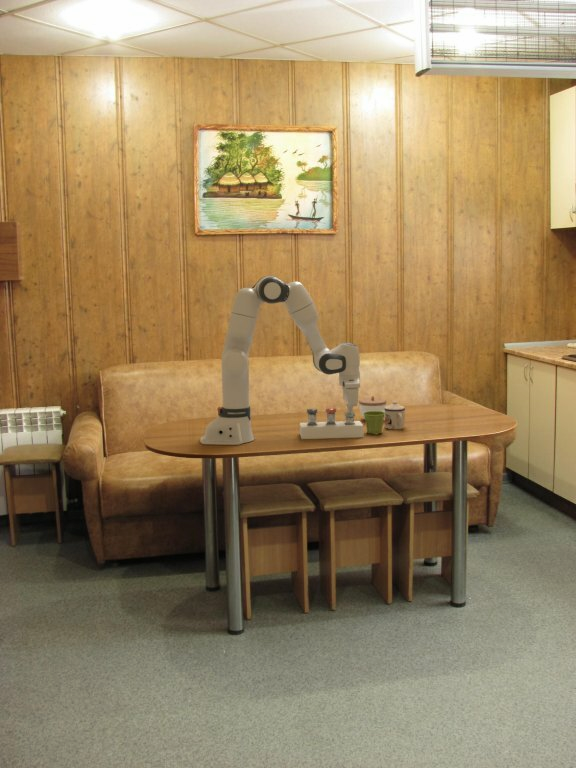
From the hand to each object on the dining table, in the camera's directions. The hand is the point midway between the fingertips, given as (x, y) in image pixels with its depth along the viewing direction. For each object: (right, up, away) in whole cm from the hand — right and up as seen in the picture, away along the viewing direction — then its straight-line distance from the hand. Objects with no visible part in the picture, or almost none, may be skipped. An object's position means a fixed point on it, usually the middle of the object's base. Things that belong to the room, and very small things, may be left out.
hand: (350, 413), depth 342 cm
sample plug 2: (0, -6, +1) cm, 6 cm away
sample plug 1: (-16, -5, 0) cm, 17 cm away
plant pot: (+11, -9, +5) cm, 15 cm away
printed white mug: (+21, -7, +14) cm, 26 cm away
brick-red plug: (-8, -4, 0) cm, 9 cm away
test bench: (-8, -10, +1) cm, 12 cm away
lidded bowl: (+13, -5, +33) cm, 36 cm away
